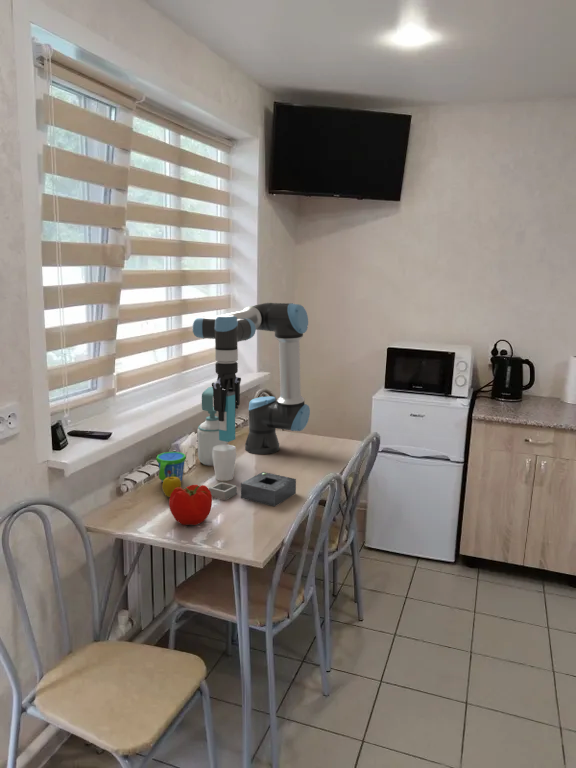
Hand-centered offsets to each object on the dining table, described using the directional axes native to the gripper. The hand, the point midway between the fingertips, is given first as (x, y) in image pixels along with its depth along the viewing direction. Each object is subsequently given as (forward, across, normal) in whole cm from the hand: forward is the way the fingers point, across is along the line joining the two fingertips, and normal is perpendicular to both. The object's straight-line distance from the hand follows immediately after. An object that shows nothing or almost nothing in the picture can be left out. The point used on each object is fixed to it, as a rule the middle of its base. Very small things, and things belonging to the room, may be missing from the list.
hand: (227, 428), depth 210 cm
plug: (+4, 0, 0) cm, 4 cm away
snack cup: (+25, +1, -25) cm, 35 cm away
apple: (+25, +12, -15) cm, 31 cm away
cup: (+25, -13, -12) cm, 30 cm away
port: (+25, -7, +12) cm, 28 cm away
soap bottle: (+25, -25, -27) cm, 44 cm away
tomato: (+25, +24, +4) cm, 35 cm away
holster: (+25, +1, -1) cm, 25 cm away
